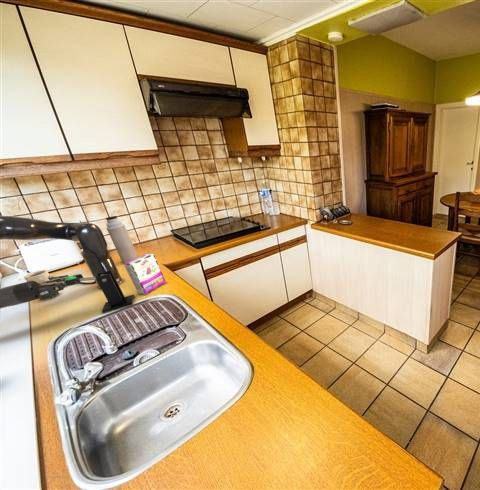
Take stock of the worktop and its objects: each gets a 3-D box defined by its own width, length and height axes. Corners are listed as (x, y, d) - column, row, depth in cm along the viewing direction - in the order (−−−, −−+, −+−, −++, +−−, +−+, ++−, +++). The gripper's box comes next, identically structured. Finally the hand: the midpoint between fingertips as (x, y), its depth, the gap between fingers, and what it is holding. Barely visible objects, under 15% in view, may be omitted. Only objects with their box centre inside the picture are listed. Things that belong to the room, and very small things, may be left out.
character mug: (65, 295, 128) (50, 272, 123) (43, 303, 123) (28, 279, 117) (56, 291, 133) (42, 268, 128) (35, 298, 127) (20, 275, 122)
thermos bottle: (133, 257, 168) (114, 214, 157) (142, 258, 165) (123, 215, 154) (119, 262, 161) (98, 218, 150) (128, 264, 158) (107, 219, 147)
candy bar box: (158, 281, 136) (146, 253, 129) (166, 282, 135) (154, 253, 128) (137, 294, 126) (122, 263, 119) (145, 294, 125) (131, 264, 118)
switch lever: (64, 286, 105) (62, 278, 104) (66, 283, 108) (65, 275, 107) (109, 282, 113) (108, 274, 112) (111, 279, 116) (110, 271, 115)
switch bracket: (102, 313, 113) (85, 281, 107) (106, 304, 119) (90, 274, 113) (132, 304, 118) (117, 273, 112) (134, 296, 124) (120, 266, 118)
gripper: (3, 293, 93) (71, 277, 102) (21, 278, 104) (81, 264, 113) (16, 311, 96) (81, 293, 105) (32, 294, 107) (89, 279, 116)
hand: (80, 278), depth 109 cm, fingers closed on switch lever, 3 cm apart
